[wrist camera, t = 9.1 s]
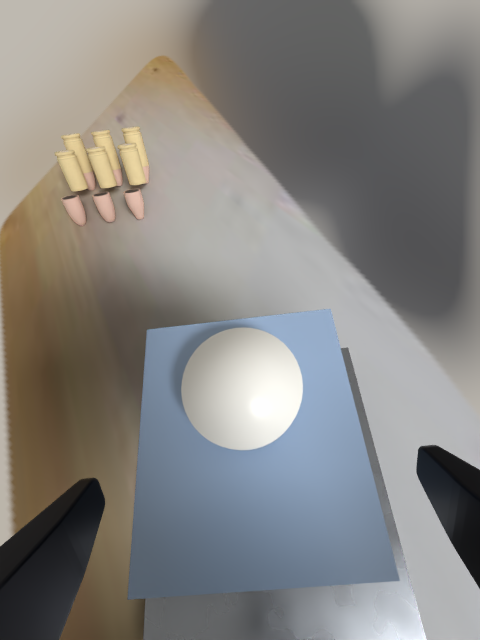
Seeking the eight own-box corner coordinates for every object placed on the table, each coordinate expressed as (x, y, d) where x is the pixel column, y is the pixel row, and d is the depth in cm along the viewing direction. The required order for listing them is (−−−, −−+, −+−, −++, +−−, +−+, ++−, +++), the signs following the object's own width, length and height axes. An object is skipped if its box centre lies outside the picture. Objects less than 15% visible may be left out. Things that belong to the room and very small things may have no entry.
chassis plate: (413, 648, 13) (436, 679, 11) (157, 663, 13) (140, 696, 12) (340, 357, 19) (348, 347, 17) (167, 376, 20) (157, 368, 18)
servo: (313, 535, 15) (482, 839, 3) (228, 542, 15) (88, 850, 3) (283, 351, 19) (307, 190, 8) (219, 358, 20) (146, 212, 8)
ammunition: (61, 127, 26) (38, 186, 23) (138, 118, 26) (126, 176, 22) (90, 173, 31) (74, 228, 27) (156, 166, 30) (149, 221, 27)
